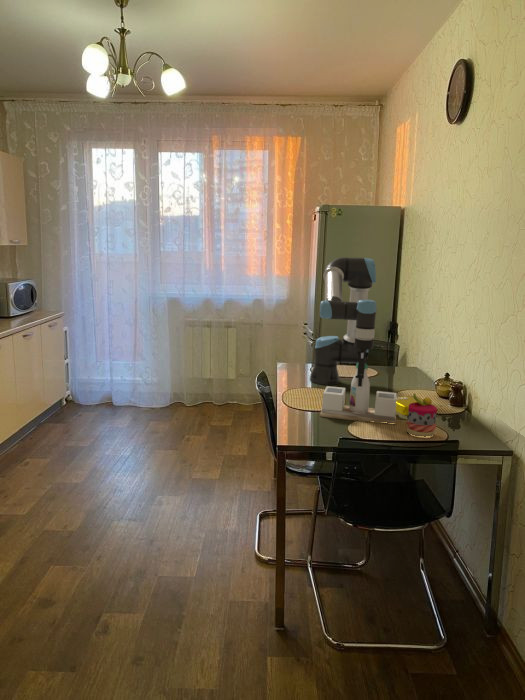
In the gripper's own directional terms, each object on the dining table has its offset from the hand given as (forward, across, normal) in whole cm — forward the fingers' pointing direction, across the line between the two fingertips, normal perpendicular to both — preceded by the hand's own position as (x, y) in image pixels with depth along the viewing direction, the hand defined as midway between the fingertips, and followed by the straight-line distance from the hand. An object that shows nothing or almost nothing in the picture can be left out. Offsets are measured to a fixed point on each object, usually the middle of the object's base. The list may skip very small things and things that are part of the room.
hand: (360, 389), depth 217 cm
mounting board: (+11, 0, 0) cm, 11 cm away
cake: (+11, +15, +24) cm, 31 cm away
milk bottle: (+10, 0, 0) cm, 10 cm away
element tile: (+12, -16, +21) cm, 29 cm away
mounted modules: (+9, 0, 0) cm, 9 cm away
